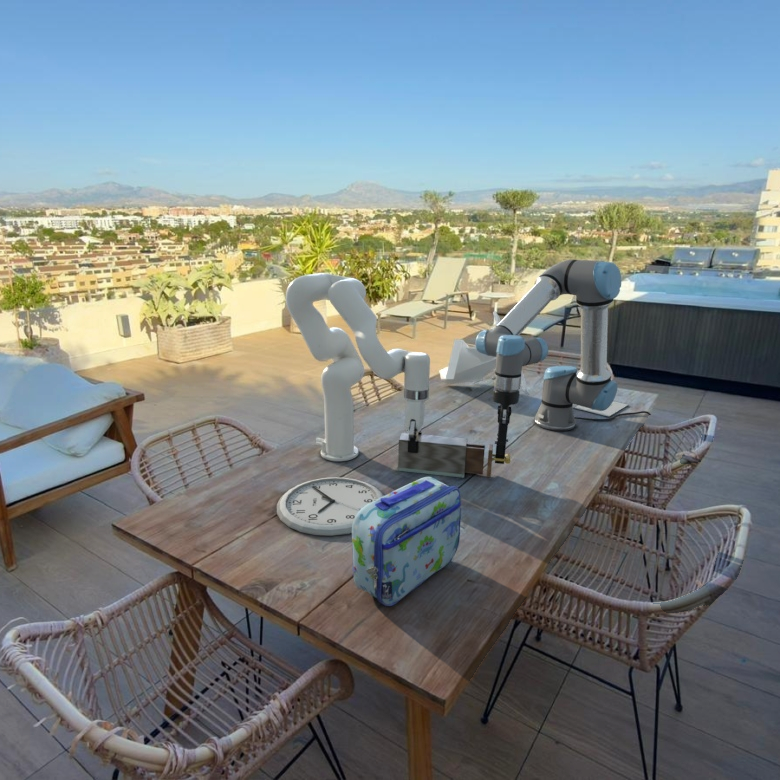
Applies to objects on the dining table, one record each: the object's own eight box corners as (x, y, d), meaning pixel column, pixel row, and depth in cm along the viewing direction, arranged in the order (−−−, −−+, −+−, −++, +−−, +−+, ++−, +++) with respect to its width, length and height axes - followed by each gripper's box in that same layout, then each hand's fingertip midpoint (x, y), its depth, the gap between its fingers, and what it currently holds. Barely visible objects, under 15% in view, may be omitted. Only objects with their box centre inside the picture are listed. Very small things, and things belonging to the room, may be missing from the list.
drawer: (508, 472, 162) (511, 446, 160) (508, 478, 158) (511, 452, 155) (428, 463, 167) (429, 438, 164) (426, 470, 162) (427, 444, 160)
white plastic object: (461, 429, 252) (437, 405, 227) (444, 352, 274) (420, 323, 250) (535, 404, 240) (518, 377, 215) (510, 326, 262) (492, 293, 237)
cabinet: (465, 469, 166) (467, 438, 162) (464, 477, 160) (466, 446, 157) (401, 462, 169) (402, 432, 166) (398, 470, 164) (398, 439, 161)
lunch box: (381, 619, 101) (382, 525, 95) (345, 592, 109) (344, 503, 102) (464, 563, 119) (469, 480, 113) (428, 543, 126) (432, 464, 120)
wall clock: (392, 527, 129) (268, 531, 127) (391, 533, 130) (269, 537, 127) (383, 473, 158) (282, 475, 155) (383, 478, 158) (282, 480, 156)
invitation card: (608, 416, 214) (573, 407, 224) (608, 416, 214) (573, 408, 224) (628, 404, 229) (594, 396, 238) (628, 405, 229) (594, 397, 238)
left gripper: (408, 384, 167) (407, 436, 172) (398, 401, 151) (397, 458, 156) (432, 386, 166) (430, 438, 171) (424, 403, 150) (422, 460, 155)
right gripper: (494, 381, 159) (487, 452, 166) (492, 394, 147) (486, 470, 154) (519, 383, 158) (511, 455, 165) (520, 396, 146) (512, 473, 153)
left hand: (414, 447), depth 164 cm, fingers closed on cabinet, 6 cm apart
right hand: (499, 462), depth 159 cm, fingers closed
